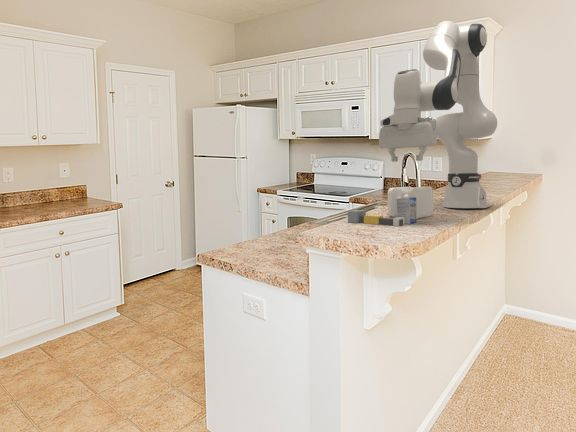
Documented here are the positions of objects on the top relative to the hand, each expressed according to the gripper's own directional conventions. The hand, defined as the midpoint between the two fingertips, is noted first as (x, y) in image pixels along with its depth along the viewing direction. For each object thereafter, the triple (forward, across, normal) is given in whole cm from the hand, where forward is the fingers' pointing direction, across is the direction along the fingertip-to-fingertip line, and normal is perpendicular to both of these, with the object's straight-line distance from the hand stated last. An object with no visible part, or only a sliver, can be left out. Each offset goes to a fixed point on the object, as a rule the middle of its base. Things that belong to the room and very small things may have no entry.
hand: (406, 161), depth 155 cm
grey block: (+21, +15, +8) cm, 27 cm away
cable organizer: (+21, +8, -15) cm, 27 cm away
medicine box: (+21, 0, 0) cm, 21 cm away
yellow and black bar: (+21, +5, +8) cm, 23 cm away
